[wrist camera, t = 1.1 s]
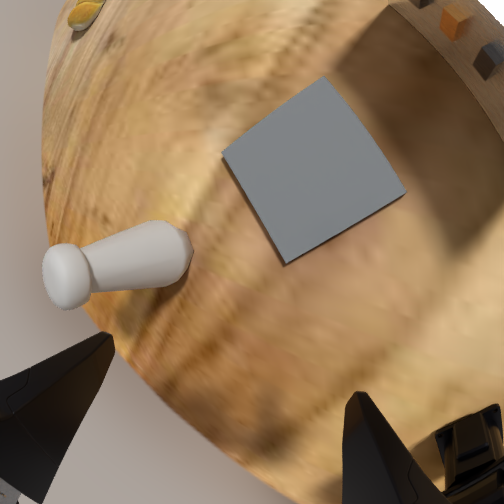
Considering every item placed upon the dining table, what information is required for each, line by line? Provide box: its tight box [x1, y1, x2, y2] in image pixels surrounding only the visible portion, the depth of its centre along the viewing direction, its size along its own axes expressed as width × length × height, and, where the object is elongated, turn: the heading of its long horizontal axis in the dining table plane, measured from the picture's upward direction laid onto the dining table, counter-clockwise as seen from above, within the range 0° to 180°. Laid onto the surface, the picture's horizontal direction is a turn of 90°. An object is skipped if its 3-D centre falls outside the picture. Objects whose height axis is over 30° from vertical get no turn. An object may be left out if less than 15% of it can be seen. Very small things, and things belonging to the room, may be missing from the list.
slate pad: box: [221, 76, 407, 263], centre depth 20 cm, size 10×10×1 cm
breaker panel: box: [388, 0, 504, 142], centre depth 9 cm, size 16×3×9 cm, turn 33°
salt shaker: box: [42, 220, 194, 310], centre depth 21 cm, size 6×6×13 cm
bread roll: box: [68, 0, 106, 31], centre depth 27 cm, size 8×9×4 cm
